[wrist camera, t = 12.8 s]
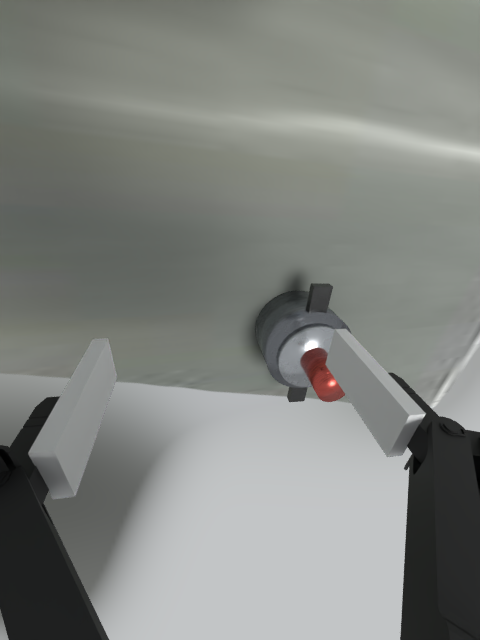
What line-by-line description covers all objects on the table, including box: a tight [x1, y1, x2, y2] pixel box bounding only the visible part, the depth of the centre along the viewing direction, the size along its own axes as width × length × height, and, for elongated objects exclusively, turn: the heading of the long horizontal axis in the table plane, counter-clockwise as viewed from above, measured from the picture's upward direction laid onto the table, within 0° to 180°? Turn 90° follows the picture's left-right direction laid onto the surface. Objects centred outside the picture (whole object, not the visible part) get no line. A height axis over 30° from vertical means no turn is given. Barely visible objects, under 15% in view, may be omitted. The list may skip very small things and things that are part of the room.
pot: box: [255, 284, 351, 402], centre depth 46 cm, size 22×14×9 cm, turn 176°
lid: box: [276, 323, 345, 402], centre depth 39 cm, size 11×11×8 cm
